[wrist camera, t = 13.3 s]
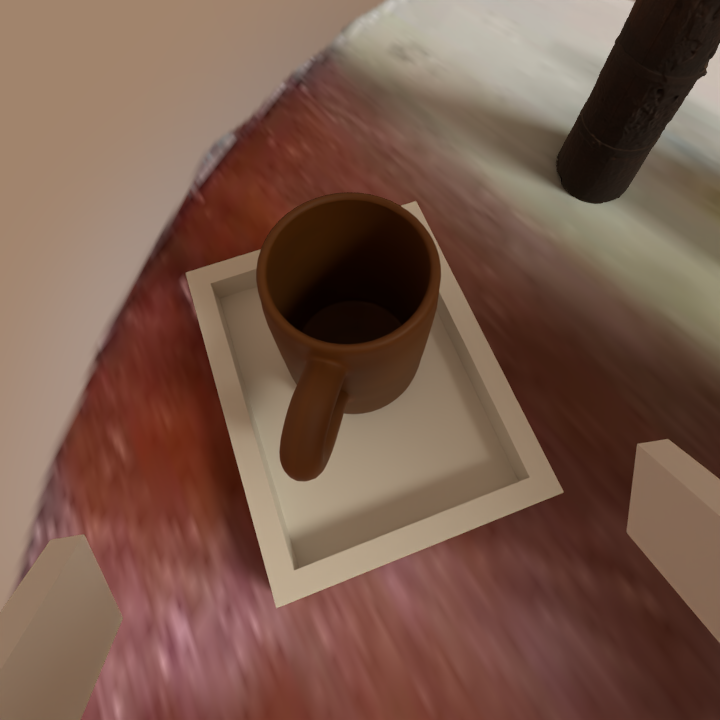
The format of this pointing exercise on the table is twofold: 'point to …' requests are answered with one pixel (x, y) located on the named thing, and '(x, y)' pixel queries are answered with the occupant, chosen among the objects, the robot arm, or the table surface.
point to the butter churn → (637, 94)
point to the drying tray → (369, 441)
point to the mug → (345, 313)
